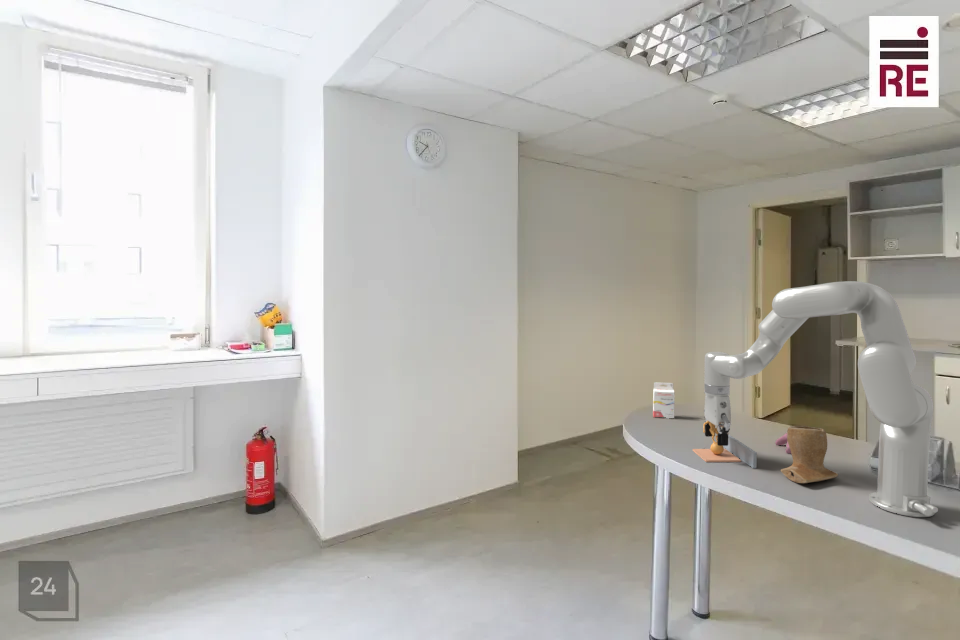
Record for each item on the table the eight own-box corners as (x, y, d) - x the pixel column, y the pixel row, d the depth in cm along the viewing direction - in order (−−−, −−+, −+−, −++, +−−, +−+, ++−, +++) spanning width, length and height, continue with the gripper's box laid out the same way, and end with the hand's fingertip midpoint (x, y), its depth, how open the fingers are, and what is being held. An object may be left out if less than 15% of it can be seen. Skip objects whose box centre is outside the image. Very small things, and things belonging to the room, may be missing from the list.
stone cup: (805, 466, 150) (806, 419, 149) (844, 481, 139) (846, 430, 138) (768, 473, 146) (769, 424, 145) (805, 489, 134) (807, 436, 133)
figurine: (710, 457, 158) (710, 421, 157) (698, 451, 164) (698, 416, 163) (732, 455, 160) (732, 419, 159) (719, 449, 166) (719, 414, 165)
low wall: (756, 468, 150) (756, 452, 149) (753, 468, 150) (753, 452, 149) (726, 447, 170) (726, 433, 169) (723, 447, 170) (723, 433, 169)
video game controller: (798, 459, 161) (809, 441, 160) (785, 452, 162) (796, 434, 161) (785, 449, 171) (796, 432, 170) (773, 443, 171) (783, 426, 170)
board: (741, 462, 155) (741, 460, 155) (706, 462, 156) (706, 460, 156) (725, 450, 166) (725, 448, 166) (692, 450, 167) (692, 448, 167)
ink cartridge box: (653, 417, 209) (653, 384, 208) (652, 414, 213) (652, 381, 212) (674, 419, 206) (674, 384, 205) (673, 416, 211) (673, 382, 210)
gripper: (741, 395, 151) (740, 449, 152) (716, 384, 168) (716, 432, 169) (716, 395, 151) (716, 449, 152) (694, 384, 168) (694, 432, 169)
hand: (716, 440), depth 161 cm, fingers open, 9 cm apart
